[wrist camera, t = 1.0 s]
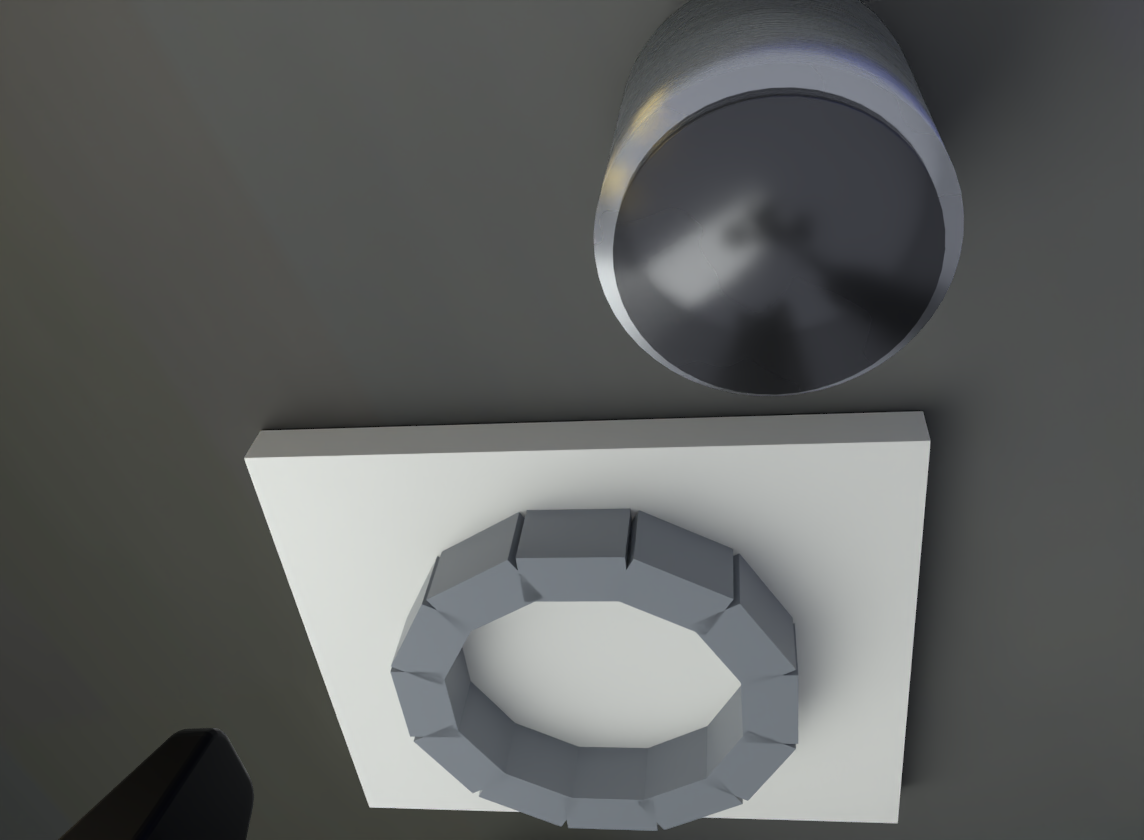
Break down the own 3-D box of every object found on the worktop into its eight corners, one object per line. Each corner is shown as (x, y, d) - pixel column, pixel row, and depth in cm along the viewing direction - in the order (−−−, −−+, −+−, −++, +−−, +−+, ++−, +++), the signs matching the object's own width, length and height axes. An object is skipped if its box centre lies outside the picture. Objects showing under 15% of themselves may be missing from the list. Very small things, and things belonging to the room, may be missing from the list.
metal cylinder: (924, -40, 17) (988, 57, 13) (906, 251, 20) (953, 406, 16) (606, -10, 18) (570, 90, 14) (632, 265, 20) (609, 416, 16)
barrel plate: (923, 410, 21) (943, 490, 19) (892, 789, 28) (905, 877, 26) (260, 430, 24) (217, 503, 22) (379, 776, 31) (354, 856, 28)
